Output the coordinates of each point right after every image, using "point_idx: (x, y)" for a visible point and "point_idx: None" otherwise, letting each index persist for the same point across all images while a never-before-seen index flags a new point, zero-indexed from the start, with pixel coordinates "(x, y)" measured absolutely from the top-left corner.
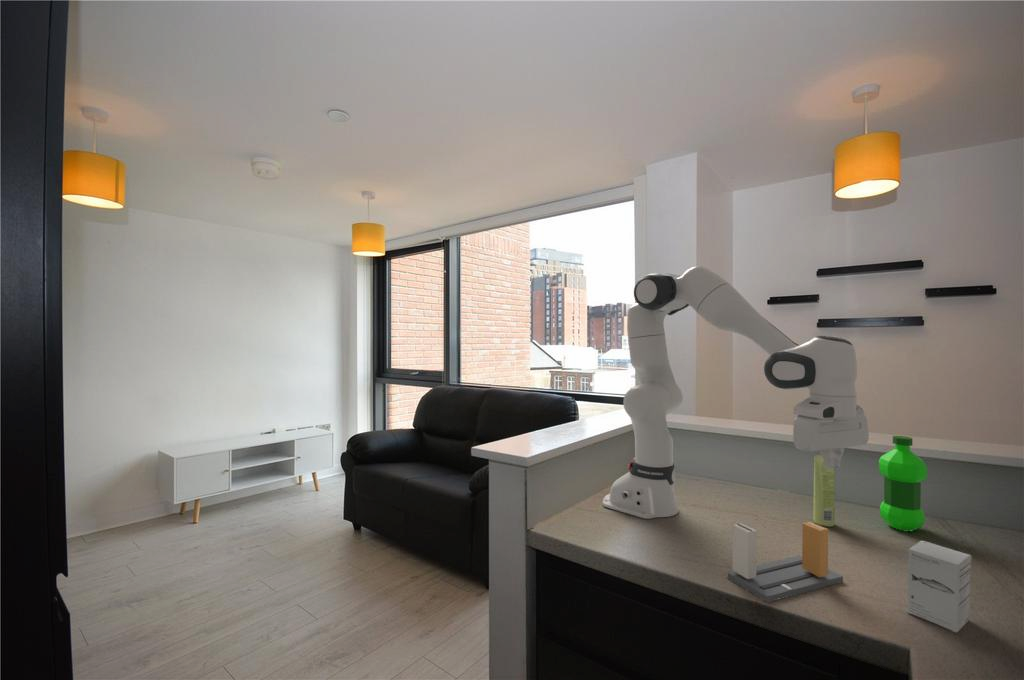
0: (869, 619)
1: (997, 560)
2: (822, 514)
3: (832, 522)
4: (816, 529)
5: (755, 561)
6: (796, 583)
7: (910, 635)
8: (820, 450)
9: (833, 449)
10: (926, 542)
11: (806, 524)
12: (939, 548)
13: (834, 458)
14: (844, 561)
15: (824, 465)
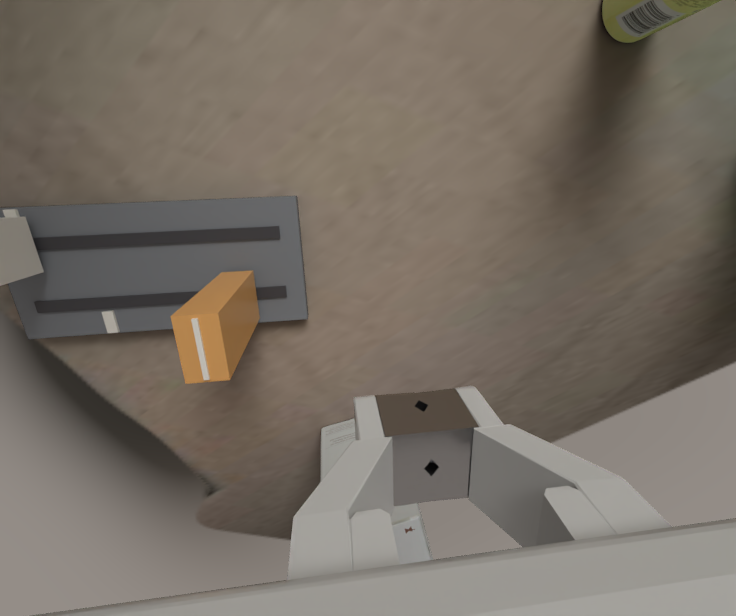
0: (227, 425)
1: (732, 341)
2: (636, 3)
3: (638, 37)
4: (183, 369)
5: (2, 283)
6: (155, 313)
7: (256, 469)
8: (292, 546)
9: (547, 533)
10: (412, 530)
11: (178, 328)
12: (401, 558)
13: (470, 469)
14: (413, 240)
15: (355, 401)
